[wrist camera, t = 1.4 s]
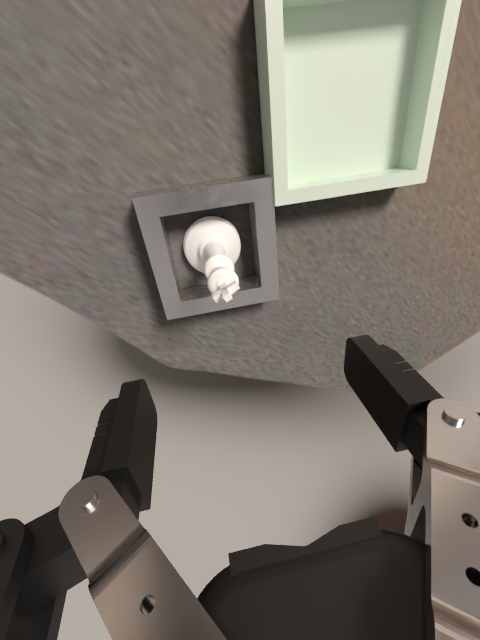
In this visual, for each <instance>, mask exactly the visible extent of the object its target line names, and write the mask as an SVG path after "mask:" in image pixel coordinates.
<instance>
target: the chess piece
mask: <svg viewBox="0 0 480 640" xmlns="http://www.w3.org/2000/svg"><path fill="white" fill-rule="evenodd" d="M183 250H184V253H185V256H186V258H187V260H188V262H189V263H190V264H191V265H192V266H193V267H194V268H195V269H196V270H198V271H200V272H202V273H205V276H206V277H207V279H208V288H209V291H210V292H211V293H212V298H213V299H214V301H215V302H216V303H218V302H219V301H221V300H222V299H224V300H225V301H226V303H227V302H228V301H230V300H231V299H233V298H232V295H233V294H234V293H235V292H236V291H237V290H238V289H240V287H239V279H238V276H237V275H236V273H235V272H234V264H235V263H236V261H237V259H238V257H239V255H240V250H241V242H240V237H239V234H238V232H237V230H236V228H235V227H234V226H233V225H232V224H231V223H230V222H229V221H227V220H226V219H224V218H221V217H217V216H207V217H203V218H200V219H198V220H196V221H195V222H194V223H192V224H191V225H190V227H189V228H188V229H187V231H186V233H185V236H184V239H183Z"/></svg>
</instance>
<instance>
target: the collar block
mask: <svg viewBox="0 0 480 640" xmlns="http://www.w3.org/2000/svg"><path fill="white" fill-rule="evenodd" d="M132 201H133V204H134V208H135V211H136V215H137V218H138V222H139V225H140V228H141V232H142V235H143V239H144V242H145V246H146V249H147V252H148V256H149V259H150V263H151V266H152V269H153V273H154V276H155V280H156V283H157V287H158V290H159V293H160V297H161V300H162V304H163V307H164V311H165V314H166V317H167V320H171V319H176V318H182V317H187V316H192V315H198V314H203V313H208V312H214V311H219V310H224V309H230V308H235V307H240V306H246V305H251V304H256V303H262V302H267V301H272V300H278V299H279V284H278V265H277V246H276V227H275V208H274V189H273V177H272V176H270V175H268V174H265V173H262V174H256V175H249V176H243V177H236V178H229V179H223V180H216V181H210V182H203V183H196V184H190V185H183V186H177V187H170V188H163V189H157V190H150V191H144V192H137V193H135V195H134V196H133V197H132ZM245 203H249V214H250V224H251V234H252V245H253V255H254V265H255V276H252V277H246V278H241V279H239V287H240V289H238V290H237V291H236V292H235V293H234V294H233V295H232V298H233V299H231V300H230V301H228V302H227V303H226V301H225V300H224V299H222V300H221V301H219V302H218V303H216V302H215V301H214V299H213V298H212V293H211V292H210V291H209V288H208V284H207V285H202V286H196V287H191V288H185V289H180V284H179V280H178V276H177V272H176V268H175V264H174V260H173V256H172V252H171V248H170V244H169V240H168V236H167V232H166V228H165V224H164V220H163V216H169V215H176V214H182V213H188V212H194V211H201V210H207V209H213V208H220V207H226V206H232V205H238V204H245Z"/></svg>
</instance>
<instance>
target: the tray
mask: <svg viewBox="0 0 480 640" xmlns="http://www.w3.org/2000/svg"><path fill="white" fill-rule="evenodd" d="M461 1H462V0H253V5H254V20H255V35H256V51H257V66H258V81H259V96H260V111H261V126H262V142H263V157H264V172H265V174H268V175H270V176H272V177H273V189H274V206H275V207H276V206H282V205H289V204H295V203H301V202H307V201H313V200H320V199H326V198H332V197H338V196H344V195H351V194H357V193H363V192H369V191H375V190H382V189H388V188H394V187H400V186H406V185H413V184H419V183H425V182H426V179H427V174H428V169H429V164H430V158H431V153H432V148H433V143H434V138H435V133H436V128H437V123H438V118H439V113H440V108H441V103H442V98H443V93H444V87H445V82H446V77H447V72H448V67H449V62H450V57H451V52H452V47H453V42H454V37H455V32H456V27H457V22H458V16H459V11H460V6H461Z"/></svg>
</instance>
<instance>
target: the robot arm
mask: <svg viewBox="0 0 480 640" xmlns="http://www.w3.org/2000/svg"><path fill="white" fill-rule="evenodd" d="M344 373H345V377H346V379H347V381H348V383H349V385H350V386H351V387H352V389H353V390H354V392H355V393H356V395H357V396H358V398H359V399H360V400H361V402H362V403H363V405H364V406H365V408H366V409H367V410H368V412H369V414H370V415H371V417H372V418H373V419H374V421H375V422H376V424H377V425H378V427H379V428H380V430H381V431H382V432H383V434H384V435H385V437H386V438H387V440H388V441H389V443H390V444H391V446H392V447H393V449H394V450H395V451H396V452H398V451H403V450H407V449H408V450H409V451H410V453H411V454H412V459H411V471H410V489H409V505H408V515H407V521H406V526H405V533H404V534H403V533H400V532H397V531H394V530H389V529H384V528H379V526H378V524H377V522H376V520H375V519H374V517H371V518H367V519H363V520H359V521H355V522H351V523H347V524H343V525H339V526H338V527H336V528H334V529H333V530H331V531H330V532H328V533H327V534H325V535H323V536H322V537H320V538H319V539H317V540H316V541H314V542H312V543H311V544H309V545H307V546H287V545H269V544H264V545H260V546H256V547H252V548H248V549H244V550H241V551H237V552H233V553H229V563H230V565H229V566H228V567H226V568H225V569H223V570H222V571H221V572H220V573H218V574H217V575H216V576H215V577H214V578H213V579H212V580H211V581H210V582H209V583H208V584H207V585H206V587H205V588H204V589H203V591H202V592H201V593H200V595H199V597H198V598H196V597H195V595H194V594H193V593H192V592H191V590H190V589H189V587H188V586H187V585H186V583H185V582H184V580H183V579H182V578H181V577H180V575H179V574H178V572H177V571H176V569H175V568H174V567H173V565H172V564H171V563H170V561H169V560H168V559H167V557H166V556H165V555H164V553H163V552H162V550H161V549H160V548H159V546H158V545H157V543H156V542H155V541H154V539H153V538H152V537H151V535H150V534H149V533H148V532H147V530H146V529H144V528H143V526H142V525H141V524H140V522H139V521H138V519H139V512H140V511H144V510H148V509H150V504H151V492H152V481H153V468H154V456H155V444H156V432H157V413H156V408H155V405H154V402H153V400H152V397H151V394H150V392H149V389H148V387H147V384H146V382H145V380H144V379H139V380H135V381H130V382H124V383H123V384H122V386H121V390H120V395H119V398H115V399H110V400H109V402H108V403H107V405H106V406H105V407H104V409H103V410H102V411H101V414H100V417H99V421H98V427H97V428H96V431H95V437H94V438H93V441H92V445H91V448H90V452H89V455H88V459H87V462H86V466H85V469H84V472H83V476H82V479H81V481H80V482H78V483H77V484H76V485H75V486H73V487H72V488H71V489H70V490H69V491H68V493H67V494H66V495H65V497H64V498H63V500H62V502H61V504H60V506H58V507H57V508H55V509H53V510H52V511H50V512H48V513H46V514H44V515H42V516H40V517H38V518H36V519H35V520H33V521H31V522H29V523H27V524H25V525H24V524H23V523H22V522H21V521H19V520H18V519H6V520H2V521H0V640H57V636H58V631H59V627H60V622H61V617H62V612H63V607H64V603H65V598H66V593H67V590H69V589H70V588H72V587H73V586H75V585H76V584H78V583H80V582H81V581H83V580H84V579H86V578H88V579H89V583H90V584H89V585H88V588H89V591H90V594H91V596H92V598H93V601H94V603H95V605H96V607H97V609H98V610H99V613H100V615H101V617H102V619H103V621H104V623H105V625H106V627H107V630H108V631H109V634H110V636H111V638H112V640H480V413H477V412H475V411H474V410H473V409H472V408H471V407H469V406H468V405H466V404H464V403H462V402H459V401H456V400H452V399H447V398H443V397H442V396H441V395H440V394H439V393H438V392H437V391H436V390H435V389H434V388H433V387H432V386H431V385H430V384H429V383H428V382H427V381H426V380H425V379H424V378H423V377H422V376H421V375H420V374H419V373H418V372H417V371H416V370H413V367H412V366H411V365H410V364H409V363H408V362H405V359H404V358H403V357H402V356H400V355H399V354H398V353H397V352H396V351H395V350H393V349H391V348H389V347H387V346H385V345H378V344H377V343H376V342H375V341H374V340H373V339H372V338H371V337H370V336H369V335H362V336H357V337H352V338H348V339H347V341H346V350H345V361H344Z"/></svg>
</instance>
